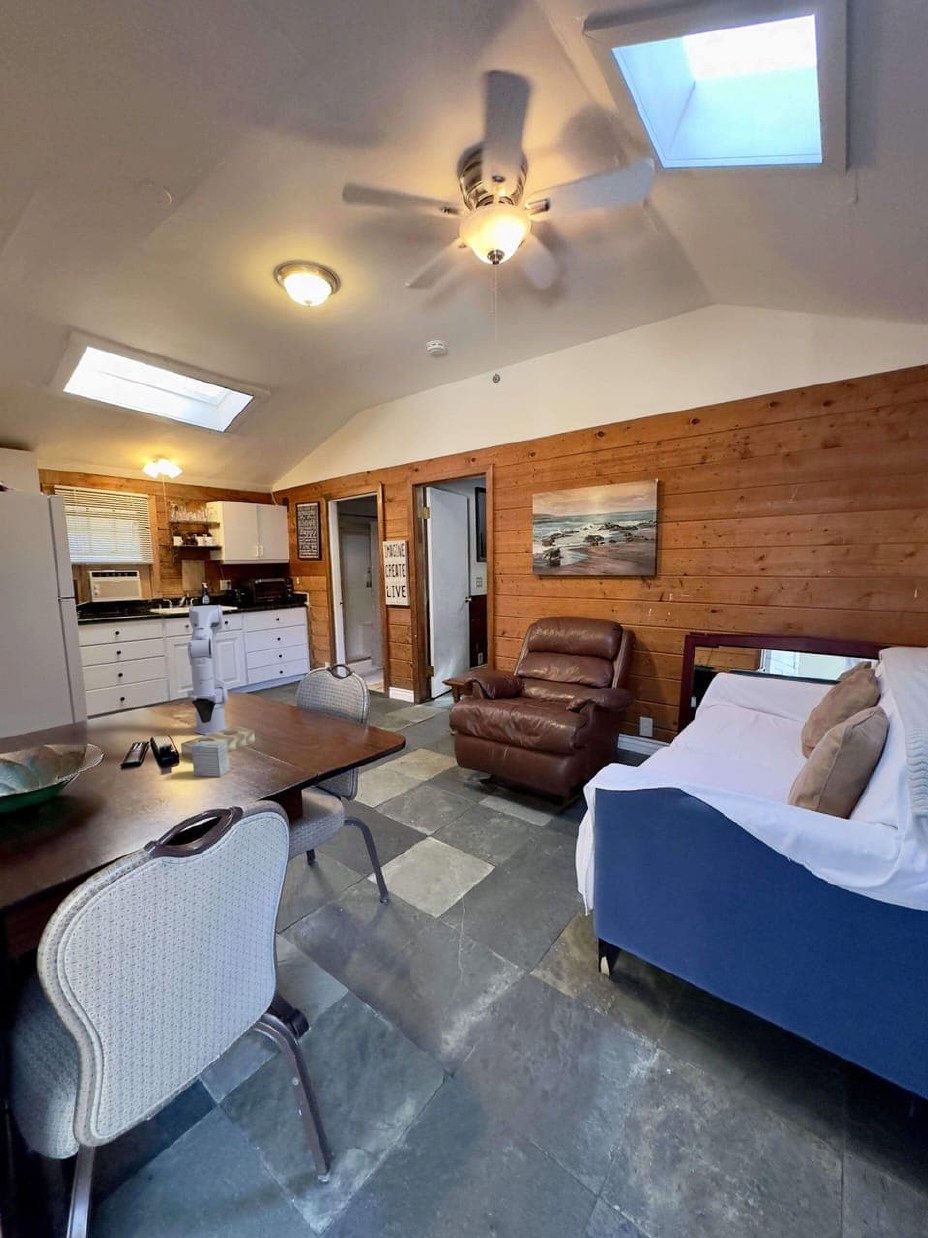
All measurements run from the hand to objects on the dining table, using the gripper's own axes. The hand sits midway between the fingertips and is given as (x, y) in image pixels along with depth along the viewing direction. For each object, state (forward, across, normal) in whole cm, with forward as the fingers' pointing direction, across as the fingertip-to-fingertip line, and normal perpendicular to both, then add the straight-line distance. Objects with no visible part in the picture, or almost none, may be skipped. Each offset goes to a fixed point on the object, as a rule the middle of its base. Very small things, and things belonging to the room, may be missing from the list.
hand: (206, 722), depth 147 cm
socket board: (+10, 0, +4) cm, 11 cm away
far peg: (+10, 0, +8) cm, 12 cm away
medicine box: (+10, +15, -8) cm, 20 cm away
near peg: (+10, 0, 0) cm, 10 cm away
